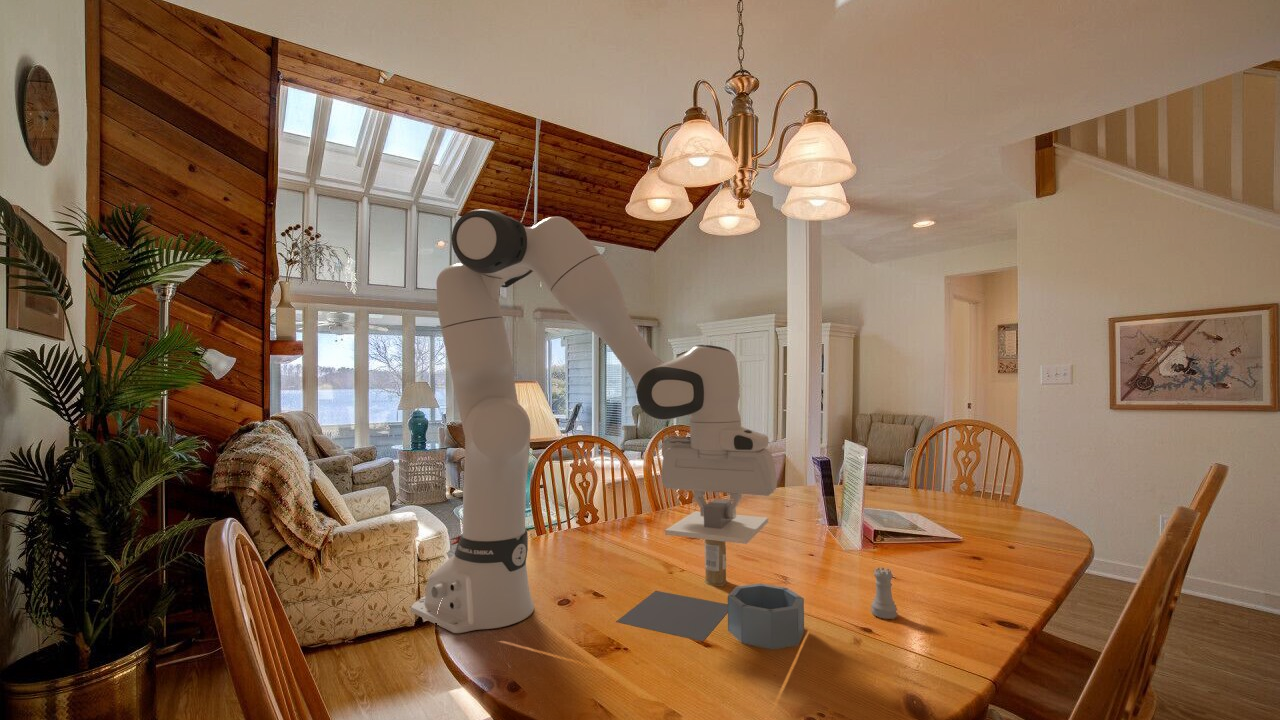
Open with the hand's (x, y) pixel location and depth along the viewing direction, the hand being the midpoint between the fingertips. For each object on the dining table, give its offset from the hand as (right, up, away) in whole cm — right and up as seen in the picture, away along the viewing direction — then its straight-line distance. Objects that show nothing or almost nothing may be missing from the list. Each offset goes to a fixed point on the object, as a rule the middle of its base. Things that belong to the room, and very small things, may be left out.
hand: (718, 517), depth 95 cm
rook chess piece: (+30, -19, +3) cm, 35 cm away
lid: (0, -2, 0) cm, 2 cm away
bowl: (+7, -18, -5) cm, 20 cm away
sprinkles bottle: (+2, -19, +18) cm, 27 cm away
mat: (-7, -18, +3) cm, 20 cm away
